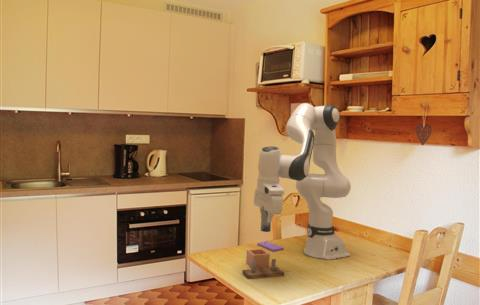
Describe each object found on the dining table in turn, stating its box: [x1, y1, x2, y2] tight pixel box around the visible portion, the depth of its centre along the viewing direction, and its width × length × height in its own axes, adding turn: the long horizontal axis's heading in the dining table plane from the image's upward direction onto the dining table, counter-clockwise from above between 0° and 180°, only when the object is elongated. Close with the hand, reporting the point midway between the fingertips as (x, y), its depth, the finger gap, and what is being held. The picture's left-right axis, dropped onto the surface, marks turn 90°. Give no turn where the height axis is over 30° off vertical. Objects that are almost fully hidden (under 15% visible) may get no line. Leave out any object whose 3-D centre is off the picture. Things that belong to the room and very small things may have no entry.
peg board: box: [241, 258, 285, 280], centre depth 164 cm, size 16×6×6 cm, turn 111°
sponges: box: [257, 240, 285, 253], centre depth 202 cm, size 7×13×2 cm, turn 38°
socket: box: [245, 248, 271, 269], centre depth 175 cm, size 8×8×6 cm
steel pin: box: [260, 206, 272, 233], centre depth 163 cm, size 4×4×10 cm
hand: (266, 220), depth 163 cm, fingers closed on steel pin, 4 cm apart
